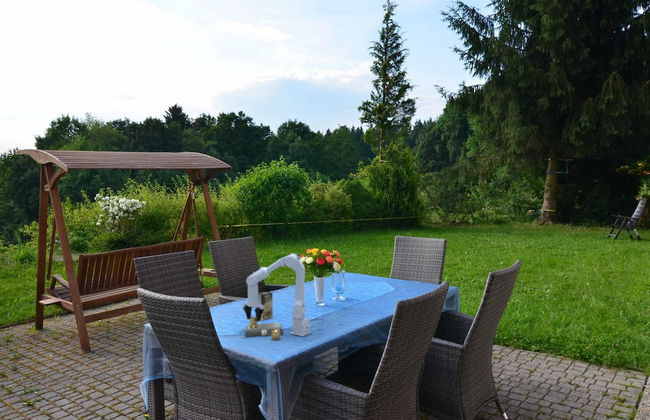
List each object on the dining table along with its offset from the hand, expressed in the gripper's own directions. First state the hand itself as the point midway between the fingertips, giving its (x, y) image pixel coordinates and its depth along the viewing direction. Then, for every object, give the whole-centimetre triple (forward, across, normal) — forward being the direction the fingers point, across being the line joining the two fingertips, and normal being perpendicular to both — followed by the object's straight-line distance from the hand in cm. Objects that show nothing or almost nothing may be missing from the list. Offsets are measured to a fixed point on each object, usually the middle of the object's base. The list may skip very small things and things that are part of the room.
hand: (253, 320), depth 266 cm
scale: (+7, -5, -3) cm, 9 cm away
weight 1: (+4, 0, 0) cm, 4 cm away
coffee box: (+7, +16, -24) cm, 29 cm away
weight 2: (+7, -19, +2) cm, 21 cm away
